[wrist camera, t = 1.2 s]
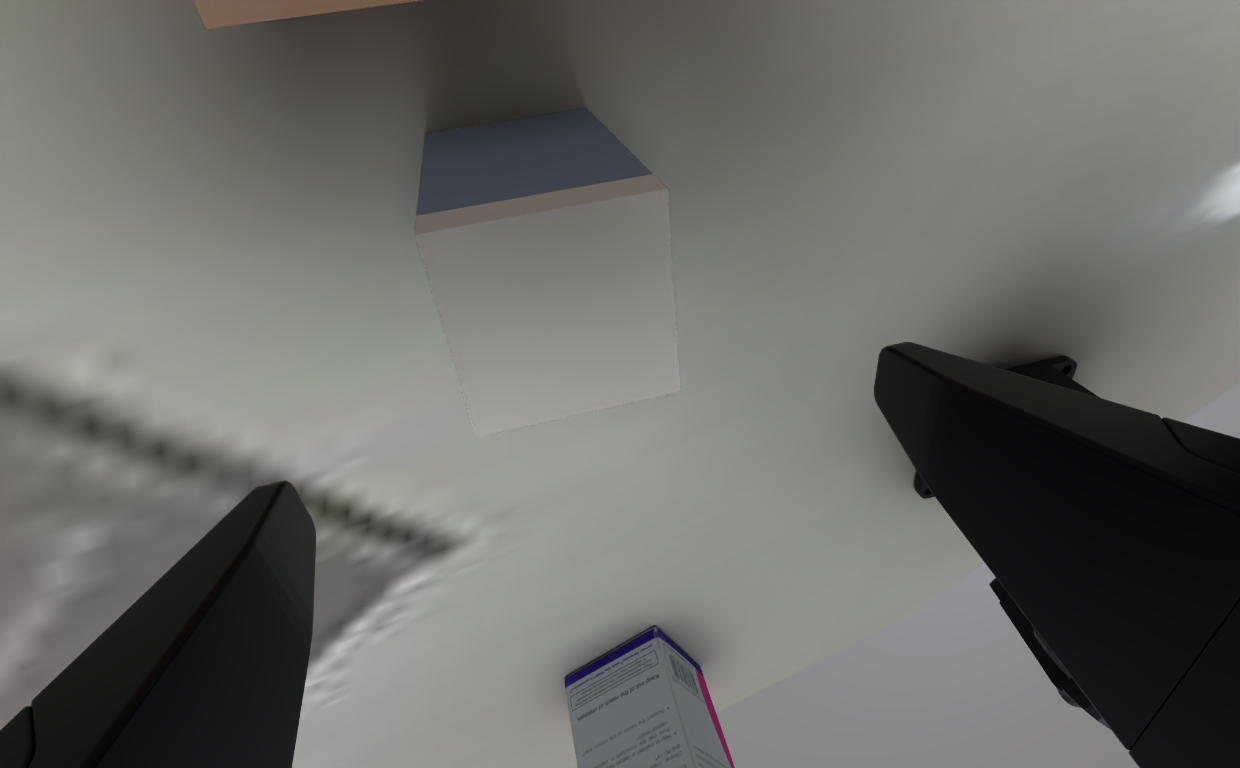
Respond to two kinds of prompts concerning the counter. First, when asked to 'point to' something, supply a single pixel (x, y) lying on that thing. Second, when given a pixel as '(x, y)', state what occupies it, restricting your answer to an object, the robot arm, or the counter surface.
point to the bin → (274, 9)
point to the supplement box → (644, 709)
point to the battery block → (548, 268)
